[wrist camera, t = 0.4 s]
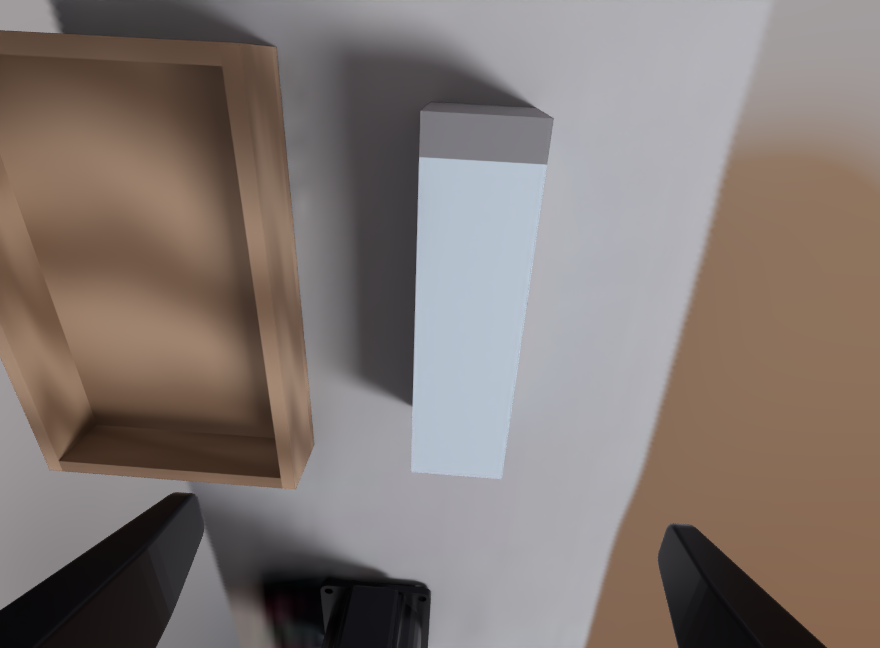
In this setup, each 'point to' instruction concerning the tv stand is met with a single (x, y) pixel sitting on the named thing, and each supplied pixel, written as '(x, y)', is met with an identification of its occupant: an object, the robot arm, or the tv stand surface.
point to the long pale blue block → (473, 278)
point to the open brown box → (151, 259)
